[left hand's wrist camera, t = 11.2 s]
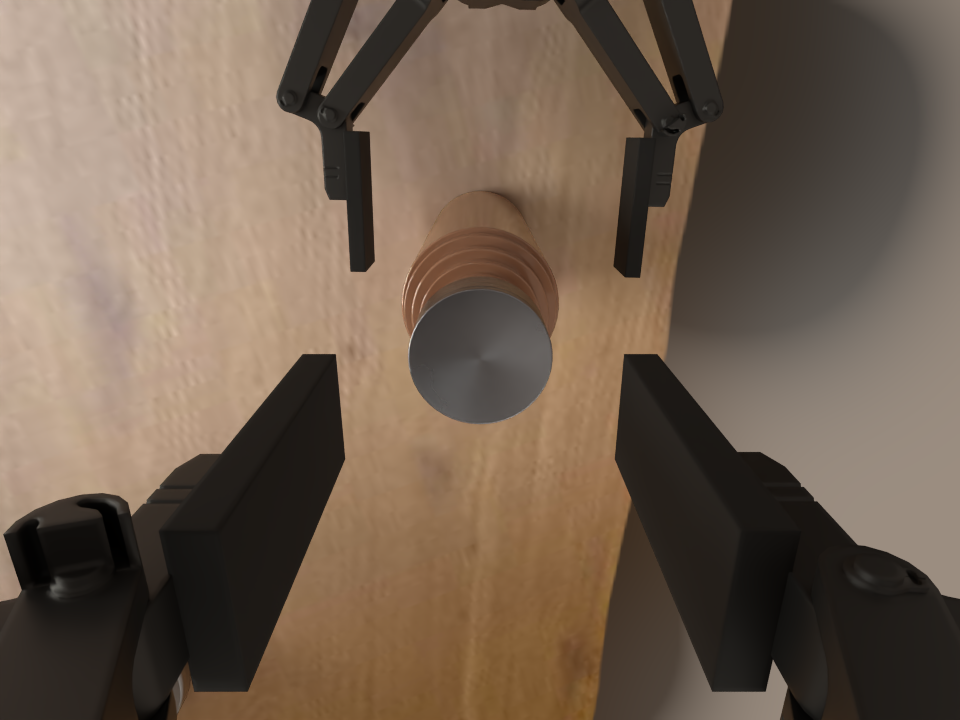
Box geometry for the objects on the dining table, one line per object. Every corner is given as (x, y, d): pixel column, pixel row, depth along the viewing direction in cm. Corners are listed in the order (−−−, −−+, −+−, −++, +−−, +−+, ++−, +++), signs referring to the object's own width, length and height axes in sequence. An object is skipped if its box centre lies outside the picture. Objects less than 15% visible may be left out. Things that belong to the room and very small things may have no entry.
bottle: (490, 170, 36) (503, 210, 16) (546, 250, 37) (619, 375, 18) (412, 229, 37) (337, 334, 17) (470, 305, 38) (460, 477, 19)
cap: (495, 248, 18) (496, 259, 16) (572, 354, 19) (580, 374, 17) (386, 327, 19) (378, 344, 17) (466, 424, 20) (465, 449, 18)
